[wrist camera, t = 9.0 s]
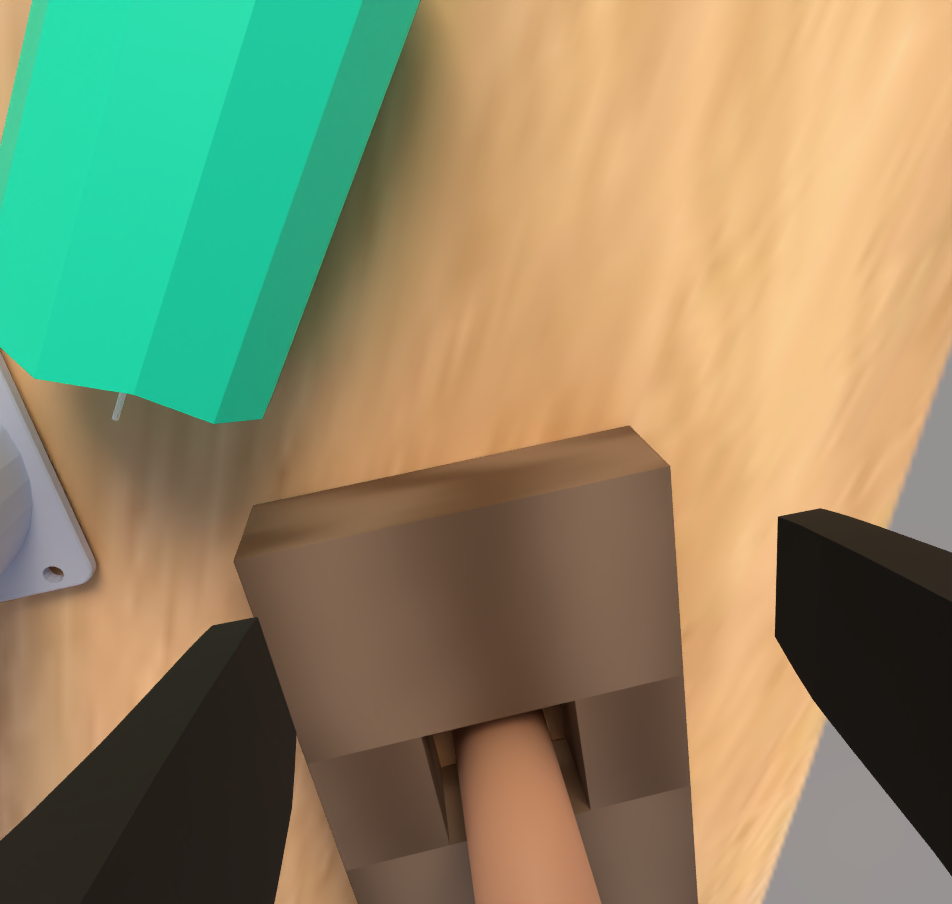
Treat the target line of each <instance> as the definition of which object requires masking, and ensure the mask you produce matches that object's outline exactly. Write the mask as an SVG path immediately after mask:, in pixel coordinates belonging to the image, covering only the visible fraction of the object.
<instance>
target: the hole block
mask: <svg viewBox="0 0 952 904" xmlns="http://www.w3.org/2000/svg"><path fill="white" fill-rule="evenodd" d="M234 564H235V567H236V569H237V572H238V575H239V578H240V580H241V583H242V586H243V589H244V591H245V594H246V597H247V600H248V603H249V605H250V608H251V611H252V614H253V616H254V618H255V617H258V619H259V622H260V625H261V628H262V631H263V634H264V637H265V640H266V643H267V646H268V649H269V652H270V655H271V658H272V661H273V664H274V667H275V670H276V673H277V676H278V679H279V682H280V685H281V688H282V691H283V694H284V697H285V700H286V703H287V706H288V709H289V712H290V715H291V718H292V721H293V724H294V727H295V730H296V735H297V738H298V740H299V743H300V746H301V749H302V751H303V754H304V757H305V760H306V762H307V765H308V768H309V771H310V773H311V776H312V779H313V782H314V784H315V787H316V790H317V793H318V795H319V798H320V801H321V804H322V806H323V809H324V812H325V815H326V817H327V820H328V823H329V826H330V828H331V831H332V834H333V837H334V839H335V842H336V845H337V848H338V851H339V853H340V856H341V859H342V862H343V864H344V867H345V870H346V873H347V875H348V878H349V881H350V884H351V886H352V889H353V892H354V895H355V897H356V900H357V903H358V904H475V898H474V890H473V883H472V875H471V867H470V860H469V852H468V845H467V837H466V830H465V822H464V815H463V807H462V799H461V792H460V784H459V777H458V769H457V764H456V765H452V766H448V767H443V768H441V765H440V762H439V758H438V754H437V750H436V746H435V742H434V738H433V735H432V734H436V733H440V732H444V731H449V730H453V729H457V728H461V727H465V726H470V725H474V724H478V723H482V722H486V721H491V720H495V719H499V718H503V717H508V716H512V715H516V714H520V713H524V712H529V711H533V710H537V709H541V708H545V707H550V706H554V705H558V704H561V708H562V714H563V721H564V727H565V733H566V738H564V739H560V740H556V741H552V743H553V747H554V750H555V753H556V756H557V760H558V763H559V766H560V770H561V773H562V776H563V779H564V783H565V786H566V789H567V792H568V796H569V799H570V802H571V805H572V809H573V812H574V815H575V819H576V822H577V825H578V828H579V832H580V835H581V838H582V841H583V845H584V848H585V851H586V854H587V858H588V861H589V864H590V868H591V871H592V874H593V877H594V881H595V884H596V887H597V890H598V894H599V897H600V900H601V904H698V897H697V881H696V866H695V850H694V834H693V818H692V802H691V787H690V771H689V755H688V739H687V724H686V708H685V692H684V676H683V660H682V645H681V629H680V613H679V597H678V582H677V566H676V550H675V534H674V518H673V503H672V487H671V471H670V465H669V464H668V463H667V462H666V461H665V460H664V459H663V458H662V457H661V456H660V455H659V454H658V453H657V452H656V451H655V450H654V449H653V448H651V447H650V446H649V445H648V444H647V443H646V442H645V441H644V440H643V439H642V438H641V437H640V436H639V435H638V434H637V433H636V432H635V431H634V430H633V429H632V428H631V427H630V426H625V427H621V428H616V429H611V430H607V431H602V432H597V433H593V434H588V435H583V436H579V437H574V438H569V439H564V440H560V441H555V442H550V443H546V444H541V445H536V446H532V447H527V448H522V449H518V450H513V451H508V452H503V453H499V454H494V455H489V456H485V457H480V458H475V459H471V460H466V461H461V462H457V463H452V464H447V465H442V466H438V467H433V468H428V469H424V470H419V471H414V472H410V473H405V474H400V475H395V476H391V477H386V478H381V479H377V480H372V481H367V482H363V483H358V484H353V485H349V486H344V487H339V488H334V489H330V490H325V491H320V492H316V493H311V494H306V495H302V496H297V497H292V498H288V499H283V500H278V501H273V502H269V503H264V504H259V505H255V506H253V508H252V511H251V513H250V516H249V519H248V522H247V525H246V527H245V530H244V533H243V536H242V539H241V541H240V544H239V547H238V550H237V553H236V555H235V558H234Z"/></svg>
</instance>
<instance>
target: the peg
mask: <svg viewBox="0 0 952 904" xmlns="http://www.w3.org/2000/svg"><path fill="white" fill-rule="evenodd" d="M452 731H453V739H454V747H455V754H456V762H457V769H458V777H459V784H460V792H461V799H462V807H463V815H464V822H465V830H466V837H467V845H468V852H469V860H470V867H471V875H472V883H473V890H474V898H475V904H601V900H600V897H599V894H598V890H597V887H596V884H595V881H594V877H593V874H592V871H591V868H590V864H589V861H588V858H587V854H586V851H585V848H584V845H583V841H582V838H581V835H580V832H579V828H578V825H577V822H576V819H575V815H574V812H573V809H572V805H571V802H570V799H569V796H568V792H567V789H566V786H565V783H564V779H563V776H562V773H561V770H560V766H559V763H558V760H557V756H556V753H555V750H554V747H553V743H552V740H551V737H550V734H549V730H548V727H547V724H546V720H545V717H544V714H543V711H542V708H541V709H537V710H533V711H529V712H524V713H520V714H516V715H512V716H508V717H503V718H499V719H495V720H491V721H486V722H482V723H478V724H474V725H470V726H465V727H461V728H457V729H453V730H452Z"/></svg>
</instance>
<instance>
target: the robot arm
mask: <svg viewBox="0 0 952 904" xmlns="http://www.w3.org/2000/svg"><path fill="white" fill-rule="evenodd" d="M49 566H55V567H57V568H60V569H61V570H62V572H63V574H64V575H56V574H54V573H52V571H51V570H50V569H49ZM95 570H96V561H95V558H94V556H93V554H92V552H91V550H90V547H89V545H88V543H87V541H86V539H85V537H84V534H83V532H82V530H81V528H80V526H79V523H78V521H77V519H76V517H75V515H74V512H73V510H72V508H71V506H70V504H69V501H68V499H67V497H66V495H65V493H64V490H63V488H62V486H61V484H60V482H59V480H58V477H57V475H56V473H55V471H54V469H53V466H52V464H51V462H50V460H49V458H48V455H47V453H46V451H45V449H44V447H43V444H42V442H41V440H40V438H39V436H38V433H37V431H36V429H35V427H34V425H33V423H32V420H31V418H30V416H29V414H28V412H27V409H26V407H25V405H24V403H23V401H22V398H21V396H20V394H19V392H18V390H17V387H16V385H15V383H14V381H13V379H12V376H11V374H10V372H9V370H8V368H7V366H6V363H5V361H4V359H3V357H2V355H1V352H0V602H4V601H8V600H13V599H17V598H22V597H27V596H31V595H36V594H40V593H45V592H50V591H54V590H59V589H64V588H68V587H73V586H77V585H81V584H83V583H86V582H87V581H88V580H89V579H90V578H91V577H92V575H93V574H94V572H95ZM775 637H776V639H777V641H778V643H779V644H780V646H781V648H782V649H783V651H784V653H785V655H786V656H787V658H788V660H789V662H790V663H791V665H792V667H793V668H794V670H795V672H796V673H797V675H798V677H799V678H800V680H801V681H802V683H803V685H804V686H805V688H806V689H807V691H808V693H809V694H810V696H811V697H812V699H813V700H814V702H815V703H816V704H817V706H818V707H819V708H820V710H821V711H822V712H823V713H824V715H825V716H826V717H827V719H828V720H829V721H830V722H831V724H832V725H833V726H834V727H835V729H836V730H837V731H838V733H839V734H840V735H841V736H842V738H843V739H844V740H845V741H846V743H847V744H848V745H849V747H850V748H851V749H852V750H853V752H854V753H855V754H856V755H857V756H858V758H859V759H860V760H861V761H862V763H863V764H864V765H865V767H866V768H867V769H868V770H869V771H870V773H871V774H872V775H873V777H874V778H875V779H876V780H877V781H878V783H879V784H880V785H881V787H882V788H883V789H884V790H885V792H886V793H887V794H888V795H889V797H890V798H891V799H892V800H893V801H894V803H895V804H896V805H897V806H898V808H899V809H900V810H901V812H902V813H903V814H904V815H905V817H906V818H907V819H908V820H909V821H910V823H911V824H912V825H913V827H914V828H915V829H916V830H917V832H918V833H919V834H920V835H921V837H922V838H923V839H924V840H925V842H926V843H927V844H928V845H929V846H930V848H931V849H932V850H933V852H934V853H935V854H936V856H937V857H938V858H939V860H940V861H941V862H942V864H943V865H944V866H945V868H946V869H947V870H948V872H949V873H950V875H951V876H952V553H951V552H949V551H946V550H943V549H940V548H937V547H935V546H932V545H929V544H926V543H923V542H921V541H918V540H915V539H912V538H909V537H907V536H904V535H901V534H898V533H896V532H893V531H890V530H887V529H885V528H882V527H879V526H876V525H873V524H870V523H867V522H864V521H861V520H858V519H855V518H852V517H849V516H846V515H843V514H839V513H836V512H832V511H829V510H825V509H821V508H820V509H815V510H810V511H805V512H799V513H794V514H789V515H784V516H779V517H778V535H777V574H776V614H775ZM295 752H296V730H295V727H294V724H293V721H292V718H291V715H290V712H289V709H288V706H287V703H286V700H285V697H284V694H283V691H282V688H281V685H280V682H279V679H278V676H277V673H276V670H275V667H274V664H273V661H272V658H271V655H270V652H269V649H268V646H267V643H266V640H265V637H264V634H263V631H262V628H261V625H260V622H259V619H258V617H255V618H249V619H244V620H239V621H234V622H229V623H223V624H218V625H213V626H211V627H210V628H209V629H208V630H207V631H206V632H205V633H204V634H203V635H202V636H201V637H200V638H199V639H198V640H197V641H196V642H195V643H194V644H193V645H192V646H191V647H190V648H189V649H188V650H187V652H186V653H185V654H184V655H183V656H182V657H181V658H180V659H179V660H178V661H177V662H176V663H175V664H174V666H173V667H172V668H171V669H170V670H169V671H168V672H167V673H166V674H165V675H164V676H163V677H162V679H161V680H160V681H159V682H158V683H157V684H156V685H155V686H154V687H153V688H152V689H151V691H150V692H149V693H148V694H147V695H146V696H145V697H144V698H143V699H142V700H141V701H140V702H139V703H138V704H137V705H136V706H135V708H134V709H133V710H132V711H131V712H130V713H129V714H128V715H127V716H126V717H125V718H124V719H123V720H122V721H121V722H120V724H119V725H118V726H117V727H116V728H115V729H114V730H113V731H112V732H111V733H110V734H109V735H108V736H107V737H106V738H105V739H104V740H103V741H102V743H101V744H100V745H99V746H98V747H97V748H96V749H95V750H94V751H92V752H91V753H90V754H89V755H88V756H87V757H86V758H85V759H84V760H83V761H82V762H81V763H80V764H79V765H78V766H77V767H76V768H75V769H74V770H73V771H72V772H71V773H70V774H69V775H68V776H67V777H66V778H65V779H64V780H63V781H62V782H61V783H60V784H59V785H58V786H57V787H56V788H55V789H54V790H53V791H52V792H51V793H50V794H49V795H48V796H47V797H46V798H45V799H44V800H43V801H42V802H41V803H40V804H39V805H38V806H37V807H36V808H35V809H34V810H33V811H32V812H31V813H30V814H29V815H28V816H27V817H26V818H24V819H23V820H22V821H21V822H20V823H19V824H18V825H17V826H16V827H15V828H14V829H13V830H12V831H11V832H9V833H8V834H7V835H6V836H5V837H4V838H3V839H2V840H1V841H0V904H274V902H275V897H276V891H277V886H278V881H279V876H280V870H281V865H282V859H283V854H284V849H285V843H286V838H287V832H288V827H289V821H290V815H291V809H292V799H293V786H294V772H295Z"/></svg>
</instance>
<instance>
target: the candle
mask: <svg viewBox="0 0 952 904" xmlns="http://www.w3.org/2000/svg"><path fill="white" fill-rule="evenodd" d="M420 1H421V0H32V5H31V9H30V14H29V18H28V23H27V27H26V32H25V36H24V41H23V45H22V50H21V54H20V59H19V63H18V68H17V73H16V77H15V82H14V86H13V91H12V95H11V100H10V104H9V109H8V113H7V118H6V122H5V127H4V131H3V136H2V140H1V145H0V348H1V349H3V350H4V351H5V352H6V353H7V354H8V355H9V356H10V357H11V358H12V359H13V360H15V361H16V362H17V363H18V364H19V365H20V366H21V367H22V368H23V369H24V370H25V371H27V372H28V373H29V374H30V375H31V376H32V377H33V378H34V379H40V380H46V381H52V382H59V383H65V384H71V385H77V386H83V387H89V388H95V389H102V390H108V391H114V392H119V395H118V399H117V402H116V405H115V409H114V412H113V415H112V420H115V421H118V420H119V418H120V414H121V411H122V408H123V405H124V401H125V398H126V395H127V394H132V395H136V396H139V397H141V398H144V399H147V400H150V401H152V402H155V403H158V404H160V405H163V406H166V407H169V408H171V409H174V410H177V411H180V412H182V413H185V414H188V415H191V416H193V417H196V418H199V419H202V420H204V421H207V422H210V423H212V424H218V423H228V422H238V421H248V420H257V419H262V418H263V416H264V414H265V411H266V409H267V407H268V404H269V402H270V400H271V398H272V395H273V393H274V390H275V387H276V385H277V382H278V379H279V377H280V374H281V371H282V369H283V366H284V363H285V361H286V358H287V355H288V353H289V350H290V347H291V345H292V342H293V339H294V337H295V334H296V331H297V329H298V326H299V323H300V321H301V318H302V315H303V313H304V310H305V307H306V305H307V302H308V299H309V297H310V294H311V291H312V289H313V286H314V283H315V281H316V278H317V275H318V273H319V270H320V267H321V265H322V262H323V259H324V257H325V254H326V251H327V249H328V246H329V243H330V241H331V238H332V235H333V233H334V230H335V227H336V225H337V222H338V219H339V217H340V214H341V211H342V209H343V206H344V203H345V201H346V198H347V195H348V193H349V190H350V188H351V185H352V182H353V180H354V177H355V174H356V172H357V169H358V166H359V164H360V161H361V158H362V156H363V153H364V150H365V148H366V145H367V142H368V140H369V137H370V134H371V132H372V129H373V126H374V124H375V121H376V118H377V116H378V113H379V110H380V108H381V105H382V102H383V100H384V97H385V94H386V92H387V89H388V86H389V84H390V81H391V78H392V76H393V73H394V70H395V68H396V65H397V62H398V60H399V57H400V54H401V52H402V49H403V46H404V44H405V41H406V38H407V36H408V33H409V30H410V28H411V25H412V22H413V20H414V17H415V14H416V12H417V9H418V6H419V4H420Z"/></svg>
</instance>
